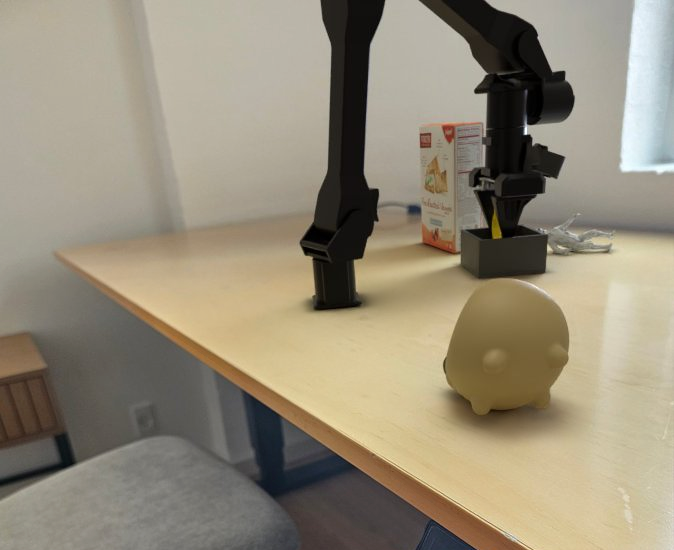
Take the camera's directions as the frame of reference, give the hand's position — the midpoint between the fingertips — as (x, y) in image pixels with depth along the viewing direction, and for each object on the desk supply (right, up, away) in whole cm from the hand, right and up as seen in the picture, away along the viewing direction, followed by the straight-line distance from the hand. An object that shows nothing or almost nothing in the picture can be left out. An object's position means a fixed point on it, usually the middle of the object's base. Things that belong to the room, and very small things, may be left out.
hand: (501, 240), depth 101 cm
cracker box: (-4, +5, +22) cm, 23 cm away
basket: (0, -4, +2) cm, 4 cm away
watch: (0, -1, +1) cm, 1 cm away
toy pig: (-12, -29, -45) cm, 55 cm away
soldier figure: (+15, +1, +10) cm, 18 cm away
